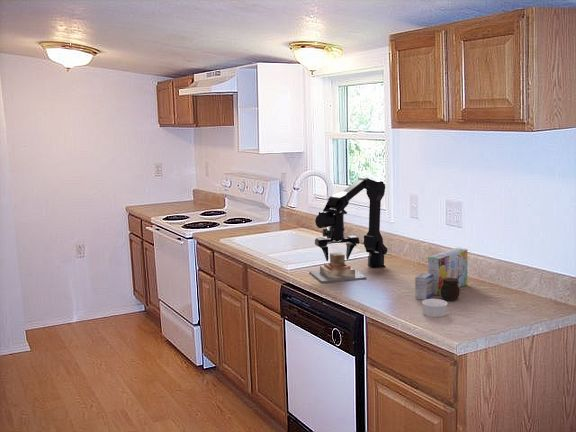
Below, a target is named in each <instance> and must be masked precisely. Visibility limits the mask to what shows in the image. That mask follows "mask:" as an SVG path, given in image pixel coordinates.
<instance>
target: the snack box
mask: <svg viewBox="0 0 576 432" xmlns="http://www.w3.org/2000/svg"><path fill="white" fill-rule="evenodd" d="M427 266H428V267H427V270H428V271H427V273H430V274H433V295H435V296H441V292H440V290H441V287H442V285H443V279H444V278H447V277H451V278H457V277H458V276H460V274H462V275H461V276H460V277H459V278H458V287H459V289H460V288H462V287H465V286H467V285H468V249H467V248H459V247H455V248H452V249H449V250H447V251H442V252H440V253H436V254H434V255H430V256H428V257H427Z"/></svg>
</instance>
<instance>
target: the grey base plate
mask: <svg viewBox="0 0 576 432" xmlns="http://www.w3.org/2000/svg"><path fill="white" fill-rule="evenodd" d="M308 274H310V275H311V276H312V277H314V278H315V279H316V280H317V281H319V282H320V283H321V284H324V283H325V284H326V283H336V282H339V283H340V282H348V281H360V280H366V279H367V276H365V275H364V274H362V273H361V272H360V271H357V270H356V269H355V276H353V277H342V278H330V279H328V278H327V277H326V276H325V275H323V274H322V273H321V272H320V269H319V270H310V271H309V273H308Z"/></svg>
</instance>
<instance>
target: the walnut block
mask: <svg viewBox="0 0 576 432" xmlns="http://www.w3.org/2000/svg"><path fill="white" fill-rule="evenodd" d="M345 257H346V255H345V254H344V253H342V252H330V253H329V263H330V266H331V267H341V266H345V263H346V261H345Z"/></svg>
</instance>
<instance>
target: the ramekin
mask: <svg viewBox="0 0 576 432" xmlns="http://www.w3.org/2000/svg"><path fill="white" fill-rule="evenodd" d="M421 306H422V314H423V315H425V316H427V317H431V318H441V317H444V316H446V314H447V307H448V301H447V300H444V299H439V298H428V299H426V300H422V301H421Z"/></svg>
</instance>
